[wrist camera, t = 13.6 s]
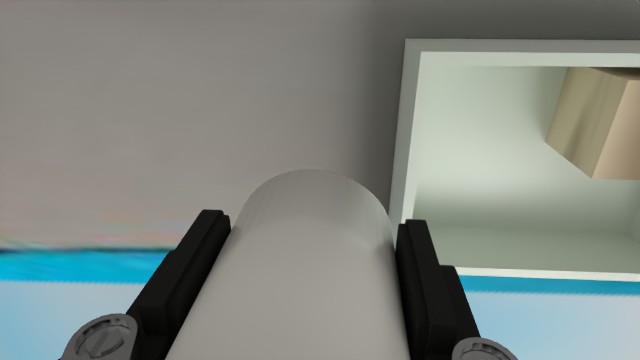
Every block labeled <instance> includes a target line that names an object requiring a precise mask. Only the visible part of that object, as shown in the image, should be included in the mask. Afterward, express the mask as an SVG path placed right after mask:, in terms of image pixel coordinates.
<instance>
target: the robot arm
mask: <svg viewBox="0 0 640 360" xmlns="http://www.w3.org/2000/svg"><path fill="white" fill-rule="evenodd" d="M230 232H231V226H230V218H229V216H228V215H224V213H223V211H222V210H206V209H204V210H202V211H201V213H200V214H199V216H198V217H197V218H196V220H195V221H194V223H193V224H192V226H191V227H190V229H189V230H188V232H187V233H186V234H185V236H184V237H183V239H182V240H181V242H180V243H179V245H178V246H177V248H176V249H175V250H172V251H170V252H169V253H168V254H167V255H166V257H165V258H164V260H163V261H162V262H161V264H160V265H159V267H158V268H157V270H156V271H155V272H154V274H153V275H152V277H151V278H150V279H149V281H148V282H147V284H146V285H145V287H144V288H143V289H142V291H141V292H140V294H139V295H138V297H137V298H136V299H135V301H134V302H133V304H132V305H131V306H130V308H129V309H128V311H127V312H126V314H109V315H105V316H101V317H99V318H96V319H94V320H92V321H90V322H88V323H87V324H85V325H84V326H82V327H81V328H80V329H79V330H78V331H77V332H76V333H75V334H74V335H73V336H72V338H71V339H70V341H69V342H68V344H67V347H66V348H65V351H64V353H63V355H62V357H61V358H60V359H58V360H165V358H166V356H167V355H168V353H169V351H170V349H171V347H172V345H173V343H174V341H175V339H176V337H177V335H178V333H179V331H180V329H181V327H182V325H183V323H184V321H185V319H186V317H187V316H188V314H189V312H190V310H191V308H192V306H193V304H194V302H195V300H196V298H197V296H198V294H199V292H200V290H201V288H202V286H203V284H204V282H205V280H206V279H207V277H208V275H209V273H210V271H211V269H212V267H213V265H214V263H215V261H216V259H217V257H218V255H219V253H220V251H221V249H222V247H223V245H224V243H225V242H226V240H227V238H228V236H229V234H230ZM395 255H396V262H397V269H398V276H399V283H400V290H401V297H402V304H403V311H404V318H405V325H406V332H407V339H408V346H409V353H410V360H518V359H517V358H516V357H515V356H514V355H513V354H512V353H511V352H510V351H509V350H508V349H507V348H505V347H503V346H502V345H500V344H499V343H497V342H494V341H492V340H489V339H485V338H481V336H480V334H479V331H478V328H477V325H476V323H475V320H474V317H473V315H472V312H471V309H470V307H469V303H468V301H467V299H466V295H465V293H464V290H463V287H462V284H461V282H460V279H459V276H458V273H457V271H456V269H455V267H454V266H453V265H440V264H439V261H438V258H437V254H436V251H435V248H434V245H433V242H432V238H431V235H430V232H429V229H428V226H427V222H426V220H421V219H406V221H405V224H403V223H399V225H398V231H397V240H396V248H395Z"/></svg>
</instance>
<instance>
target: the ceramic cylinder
mask: <svg viewBox="0 0 640 360" xmlns="http://www.w3.org/2000/svg"><path fill="white" fill-rule="evenodd" d="M165 360H410V353H409V346H408V339H407V332H406V325H405V318H404V311H403V304H402V297H401V290H400V283H399V276H398V269H397V262H396V255H395V248H394V241H393V234H392V227H391V223H390V220H389V217H388V215H387V213H386V211H385V209H384V207H383V206H382V204H381V203H380V201H379V200H378V199H377V198H376V197H375V196H374V195H373V194H372V193H371V192H370V191H369V190H368V189H366V188H365V187H364V186H362V185H361V184H359V183H358V182H356V181H354V180H352V179H350V178H348V177H346V176H343V175H340V174H337V173H333V172H328V171H323V170H298V171H292V172H288V173H284V174H281V175H279V176H276V177H274V178H272V179H270V180H268V181H267V182H265V183H263V184H262V185H261V186H260V187H258V188H257V189H256V190H255V191H254V192H253V193H252V194H251V195H250V197H249V198H248V200H247V201H246V203H245V205H244V206H243V208H242V210H241V212H240V214H239V216H238V218H237V220H236V222H235V224H234V226H233V228H232V230H231V232H230V234H229V236H228V238H227V240H226V242H225V243H224V245H223V247H222V249H221V251H220V253H219V255H218V257H217V259H216V261H215V263H214V265H213V267H212V269H211V271H210V273H209V275H208V277H207V279H206V280H205V282H204V284H203V286H202V288H201V290H200V292H199V294H198V296H197V298H196V300H195V302H194V304H193V306H192V308H191V310H190V312H189V314H188V316H187V317H186V319H185V321H184V323H183V325H182V327H181V329H180V331H179V333H178V335H177V337H176V339H175V341H174V343H173V345H172V347H171V349H170V351H169V353H168V355H167V356H166V358H165Z"/></svg>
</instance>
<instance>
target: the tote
mask: <svg viewBox="0 0 640 360" xmlns="http://www.w3.org/2000/svg"><path fill="white" fill-rule="evenodd" d="M568 66H572V67H640V40H551V39H412V38H406V39H405V49H404V59H403V69H402V80H401V90H400V100H399V110H398V121H397V131H396V141H395V151H394V162H393V172H392V182H391V192H390V203H389V213H388V217H389V220H390V223H391V227H392V234H393V241H394V248H396V240H397V231H398V225H399V223H403V224H405V221H406V219H421V220H426V222H427V226H428V229H429V232H430V235H431V238H432V242H433V245H434V248H435V251H436V254H437V258H438V261H439V264H440V265H453V266H454V267H455V269H456V271H457V273H458V275H473V276H500V277H528V278H555V279H582V280H610V281H637V282H640V180H613V179H591V178H590V177H589V176H587V175H586V174H585V173H583V172H582V171H581V170H580V169H578V168H577V167H576V166H574V165H573V164H572V163H571V162H569V161H568V160H567V159H565V158H564V157H563V156H561V155H560V154H559V153H558V152H556V151H555V150H554V149H552V148H551V147H550V146H549V145H547V144H546V139H547V136H548V132H549V129H550V126H551V122H552V119H553V116H554V112H555V109H556V105H557V102H558V99H559V95H560V92H561V89H562V85H563V82H564V79H565V75H566V72H567V68H568Z"/></svg>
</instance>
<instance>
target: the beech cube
mask: <svg viewBox="0 0 640 360" xmlns="http://www.w3.org/2000/svg"><path fill="white" fill-rule="evenodd" d="M546 144H547V145H549V146H550V147H551V148H552V149H554V150H555V151H556V152H558V153H559V154H560V155H561V156H563V157H564V158H565V159H567V160H568V161H569V162H571V163H572V164H573V165H574V166H576V167H577V168H578V169H580V170H581V171H582V172H583V173H585V174H586V175H587V176H589V177H590V178H591V179H613V180H640V67H572V66H568V68H567V72H566V75H565V79H564V82H563V85H562V89H561V92H560V95H559V99H558V102H557V105H556V109H555V112H554V116H553V119H552V122H551V126H550V129H549V132H548V136H547V139H546Z"/></svg>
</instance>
